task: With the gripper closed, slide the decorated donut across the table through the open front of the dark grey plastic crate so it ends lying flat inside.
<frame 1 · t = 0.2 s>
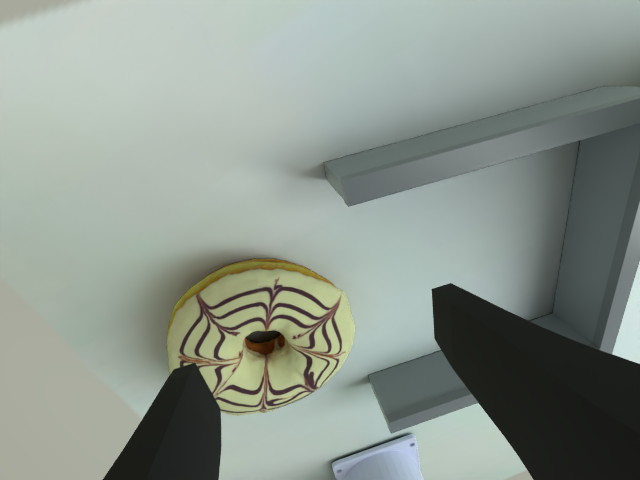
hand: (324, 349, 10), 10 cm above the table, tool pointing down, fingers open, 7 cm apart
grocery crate: (462, 259, 22), on the table
decorated donut: (263, 317, 21), on the table
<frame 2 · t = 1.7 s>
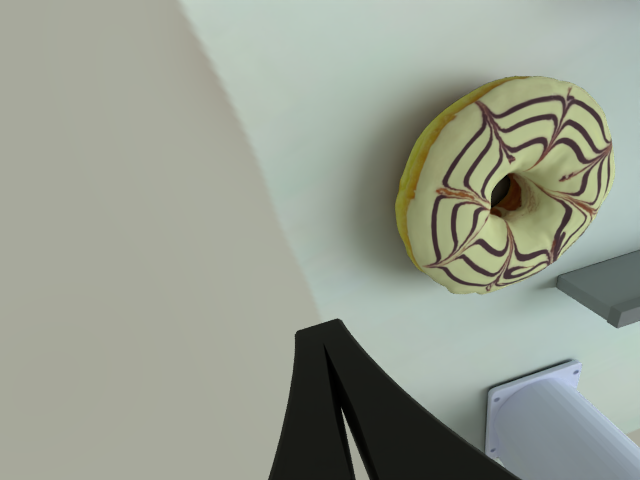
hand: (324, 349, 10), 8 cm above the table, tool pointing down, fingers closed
decorated donut: (474, 184, 18), on the table
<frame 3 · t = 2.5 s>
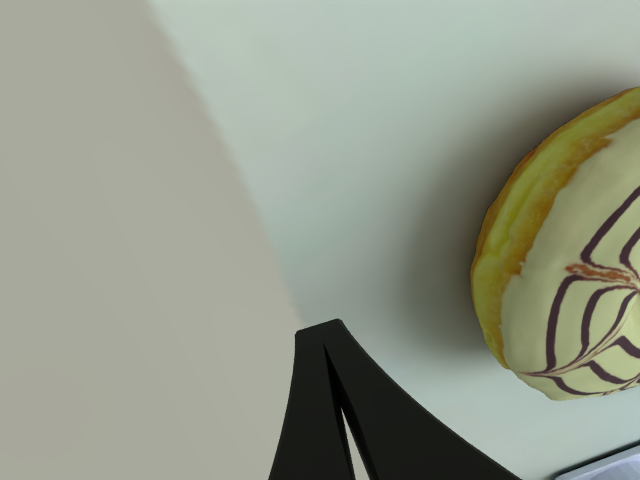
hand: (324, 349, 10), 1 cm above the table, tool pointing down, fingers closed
decorated donut: (574, 230, 12), on the table
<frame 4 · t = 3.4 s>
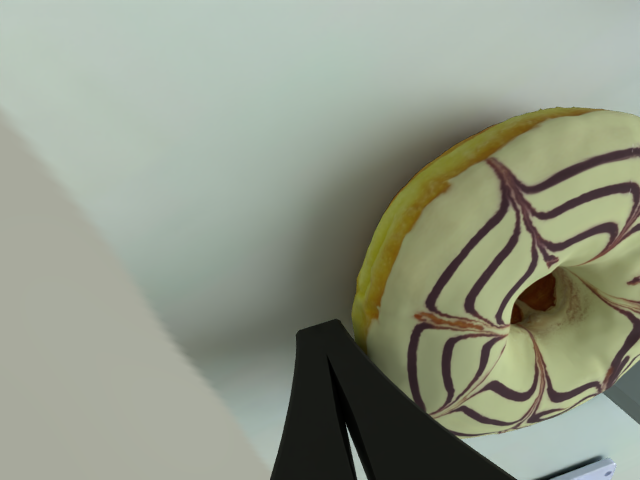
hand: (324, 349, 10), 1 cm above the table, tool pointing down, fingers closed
decorated donut: (479, 260, 12), on the table, touching gripper
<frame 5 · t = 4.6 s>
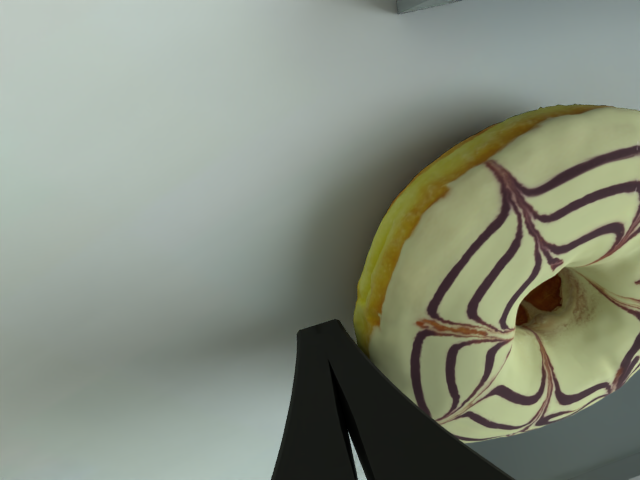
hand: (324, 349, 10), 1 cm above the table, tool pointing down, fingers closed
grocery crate: (619, 226, 12), on the table
decorated donut: (483, 260, 12), on the table, touching gripper
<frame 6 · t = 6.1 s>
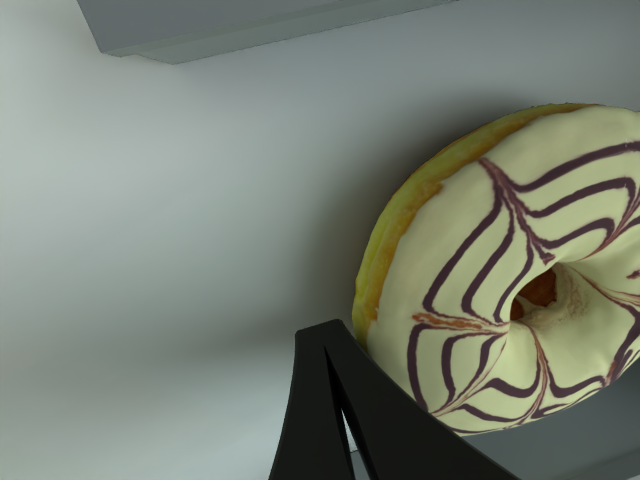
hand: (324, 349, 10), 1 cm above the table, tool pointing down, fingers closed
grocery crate: (491, 265, 11), on the table
decorated donut: (479, 257, 12), on the table
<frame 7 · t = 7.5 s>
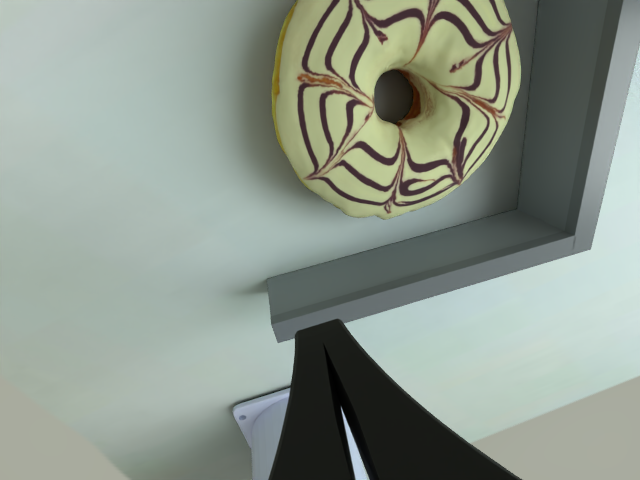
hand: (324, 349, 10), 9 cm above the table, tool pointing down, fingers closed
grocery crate: (383, 100, 16), on the table
decorated donut: (378, 98, 16), on the table
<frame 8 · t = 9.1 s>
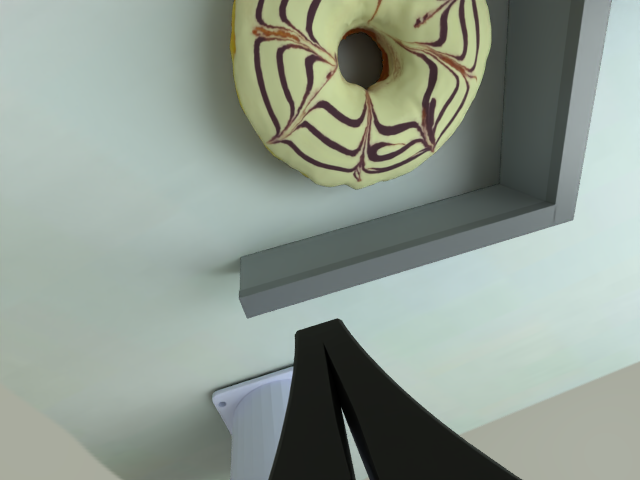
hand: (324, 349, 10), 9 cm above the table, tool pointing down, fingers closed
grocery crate: (353, 67, 15), on the table
decorated donut: (348, 65, 16), on the table
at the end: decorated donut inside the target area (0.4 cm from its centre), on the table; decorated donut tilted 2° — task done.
